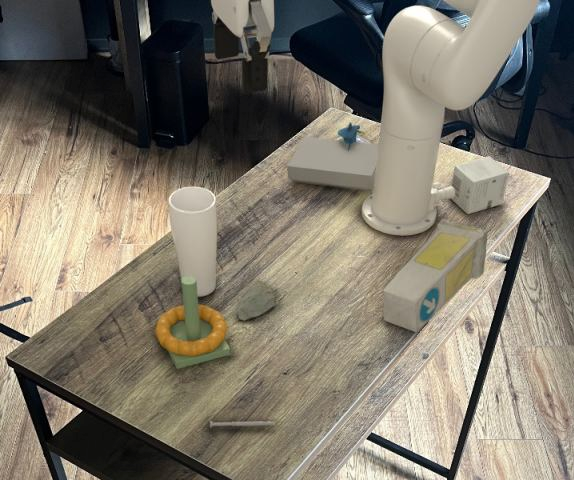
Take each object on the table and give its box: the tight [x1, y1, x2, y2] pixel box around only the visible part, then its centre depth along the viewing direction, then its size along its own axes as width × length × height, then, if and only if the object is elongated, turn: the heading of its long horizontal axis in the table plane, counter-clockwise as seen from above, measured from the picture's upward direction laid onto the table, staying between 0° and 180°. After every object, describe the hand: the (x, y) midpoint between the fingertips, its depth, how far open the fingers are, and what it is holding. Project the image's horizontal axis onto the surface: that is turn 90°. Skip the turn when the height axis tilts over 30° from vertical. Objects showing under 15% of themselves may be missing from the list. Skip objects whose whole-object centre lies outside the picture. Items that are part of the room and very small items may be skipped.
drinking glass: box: [168, 186, 219, 298], centre depth 120 cm, size 7×7×15 cm
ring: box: [154, 304, 228, 356], centre depth 117 cm, size 10×10×2 cm
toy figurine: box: [337, 122, 367, 151], centre depth 145 cm, size 12×4×8 cm, turn 159°
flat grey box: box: [286, 135, 379, 191], centre depth 143 cm, size 10×4×15 cm
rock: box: [236, 280, 276, 322], centre depth 124 cm, size 9×2×5 cm
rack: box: [167, 276, 231, 370], centre depth 114 cm, size 8×8×11 cm
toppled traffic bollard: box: [382, 218, 488, 333], centre depth 124 cm, size 19×8×8 cm
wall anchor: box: [209, 420, 277, 429], centre depth 108 cm, size 1×9×1 cm, turn 92°
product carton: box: [450, 155, 510, 215], centre depth 140 cm, size 6×6×7 cm
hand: (240, 73), depth 105 cm, fingers open, 9 cm apart
